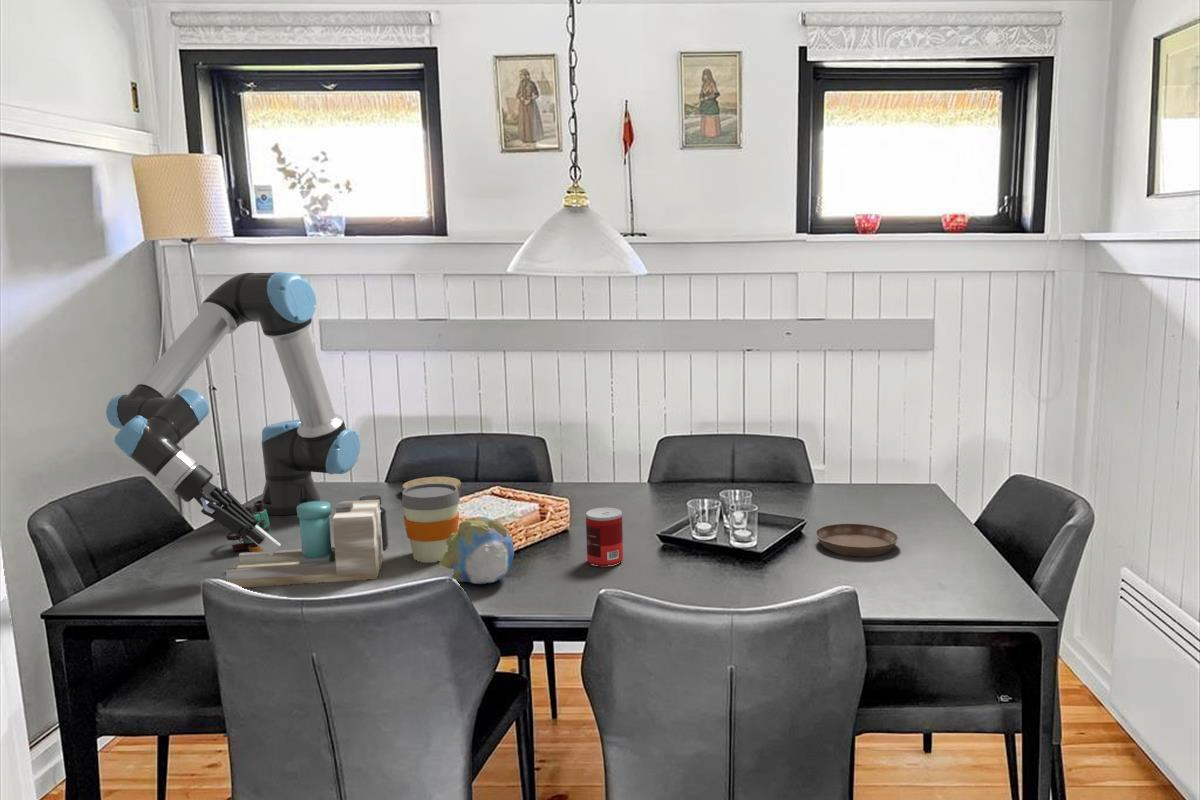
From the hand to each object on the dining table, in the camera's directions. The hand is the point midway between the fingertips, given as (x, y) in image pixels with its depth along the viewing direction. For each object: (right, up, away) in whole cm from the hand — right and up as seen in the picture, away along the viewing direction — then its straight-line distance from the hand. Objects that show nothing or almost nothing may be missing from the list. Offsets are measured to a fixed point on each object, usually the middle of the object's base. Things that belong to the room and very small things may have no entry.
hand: (275, 550), depth 201 cm
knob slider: (+8, -3, +2) cm, 9 cm away
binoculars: (-13, -3, +20) cm, 24 cm away
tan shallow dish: (+22, +5, +64) cm, 68 cm away
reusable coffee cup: (+31, -3, +11) cm, 33 cm away
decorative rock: (+43, -6, -4) cm, 44 cm away
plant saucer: (+125, -1, +11) cm, 125 cm away
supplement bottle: (+17, -3, +17) cm, 24 cm away
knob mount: (+6, -5, +2) cm, 8 cm away
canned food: (+69, -3, +4) cm, 69 cm away
